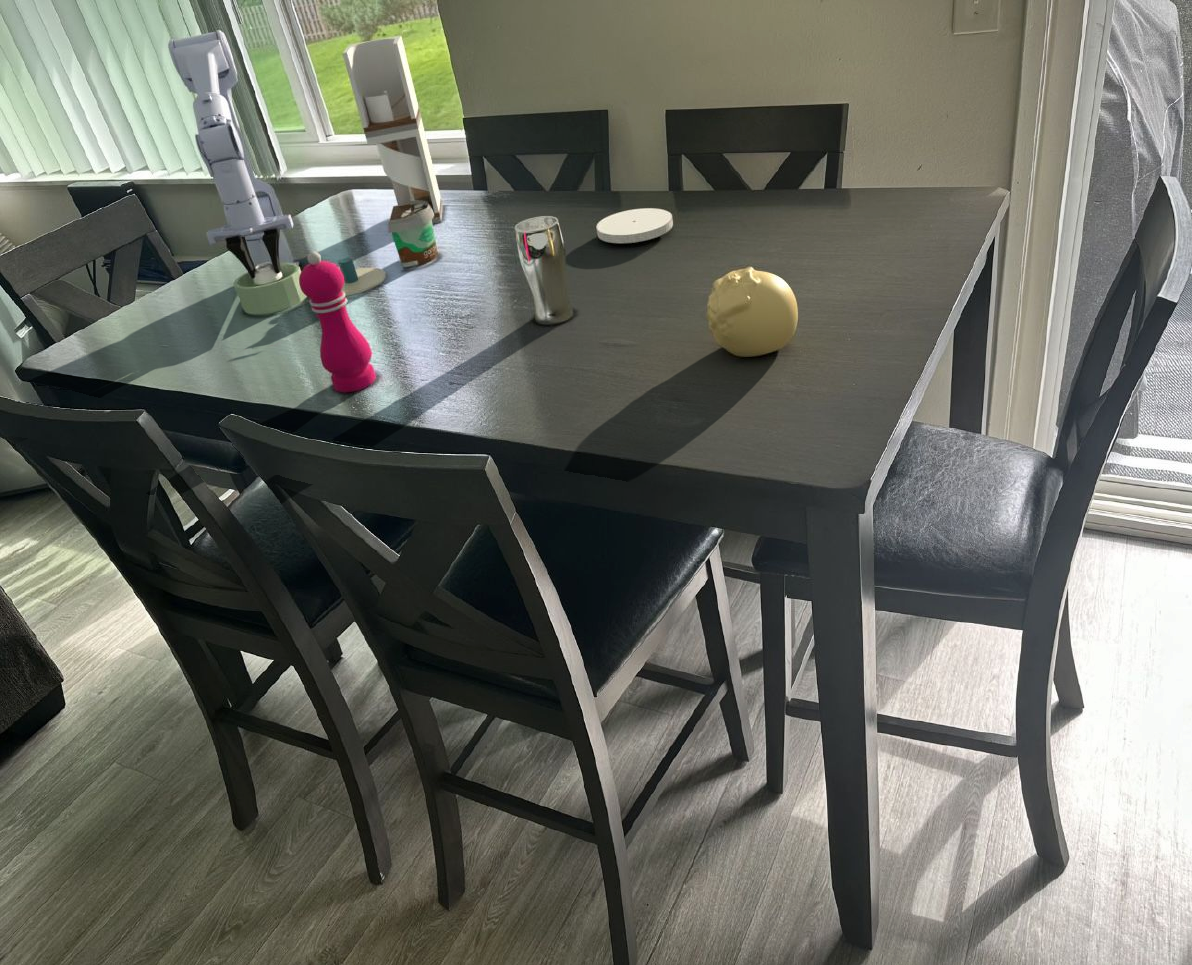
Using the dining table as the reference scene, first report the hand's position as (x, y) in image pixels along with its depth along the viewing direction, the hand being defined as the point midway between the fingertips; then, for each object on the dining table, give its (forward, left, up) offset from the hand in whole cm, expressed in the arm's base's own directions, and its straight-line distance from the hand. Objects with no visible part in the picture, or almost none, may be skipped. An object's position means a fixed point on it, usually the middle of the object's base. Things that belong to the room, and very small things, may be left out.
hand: (266, 273), depth 167 cm
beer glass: (+32, +48, -6) cm, 58 cm away
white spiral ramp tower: (-36, +26, -6) cm, 45 cm away
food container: (-7, +28, -6) cm, 29 cm away
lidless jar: (0, 0, -2) cm, 2 cm away
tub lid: (-1, +14, -5) cm, 15 cm away
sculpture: (+56, +73, -6) cm, 92 cm away
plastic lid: (+2, +67, -6) cm, 67 cm away
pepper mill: (+41, +17, -6) cm, 45 cm away
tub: (0, 0, -6) cm, 6 cm away
